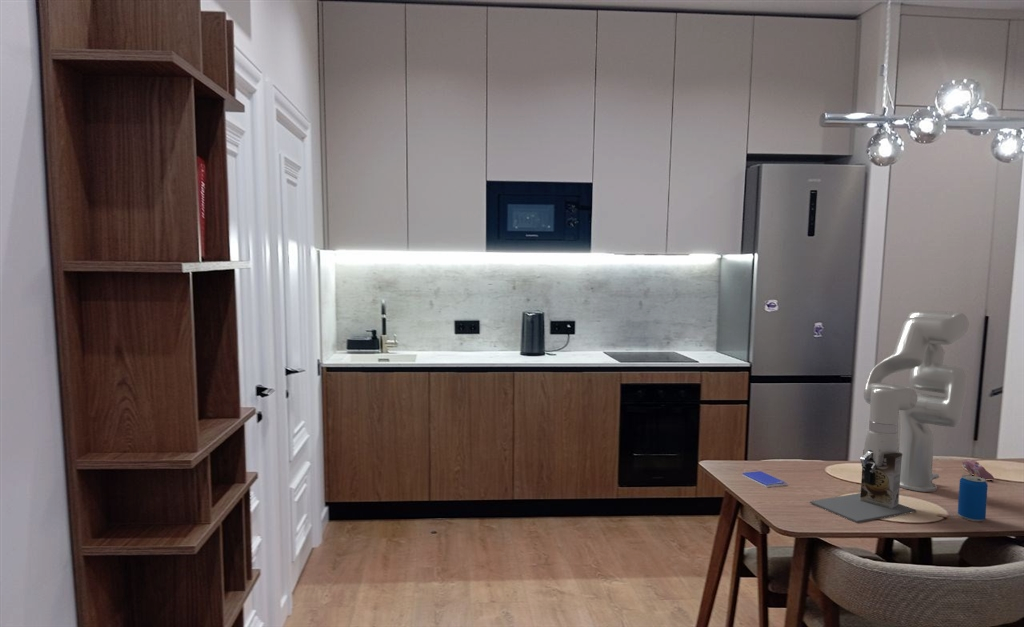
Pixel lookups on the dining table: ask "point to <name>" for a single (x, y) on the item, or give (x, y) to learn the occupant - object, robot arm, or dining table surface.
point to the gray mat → (859, 508)
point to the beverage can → (972, 498)
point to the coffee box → (884, 482)
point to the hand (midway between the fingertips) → (880, 482)
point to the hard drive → (764, 479)
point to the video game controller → (976, 469)
